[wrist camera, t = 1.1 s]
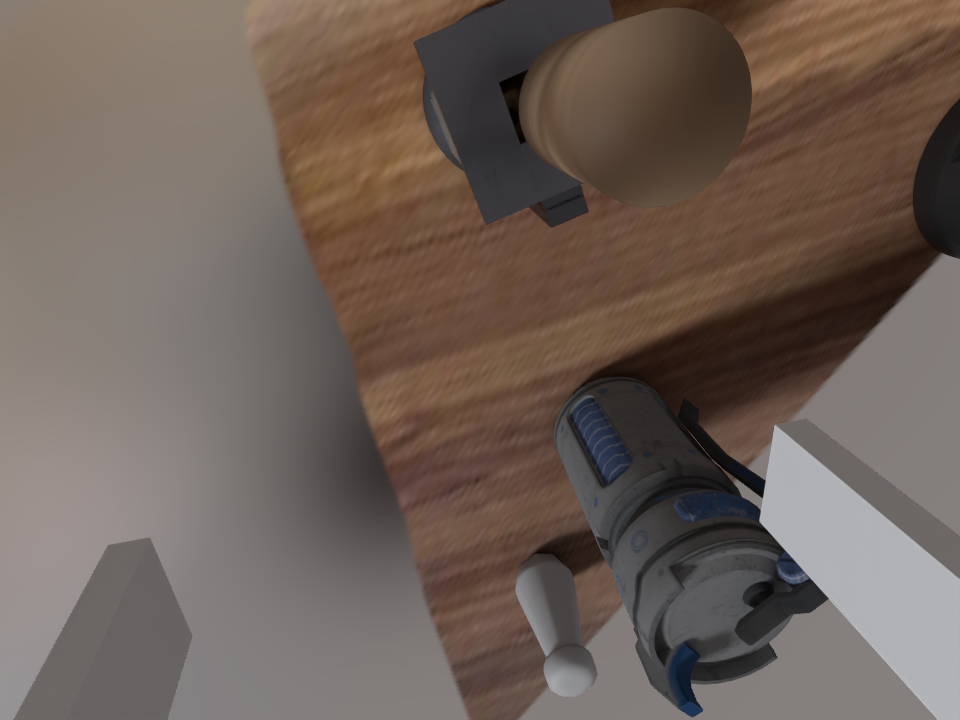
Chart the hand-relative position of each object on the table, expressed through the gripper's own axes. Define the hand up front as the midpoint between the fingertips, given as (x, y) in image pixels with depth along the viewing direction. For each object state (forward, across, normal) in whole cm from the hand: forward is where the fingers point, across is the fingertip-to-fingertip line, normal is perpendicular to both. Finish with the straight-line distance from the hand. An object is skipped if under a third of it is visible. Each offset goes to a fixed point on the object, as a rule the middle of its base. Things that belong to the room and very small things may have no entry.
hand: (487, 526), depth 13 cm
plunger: (+22, -8, -7) cm, 25 cm away
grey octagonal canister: (+34, -8, -7) cm, 36 cm away
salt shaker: (+34, -9, +37) cm, 51 cm away
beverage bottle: (+34, -16, +20) cm, 43 cm away
